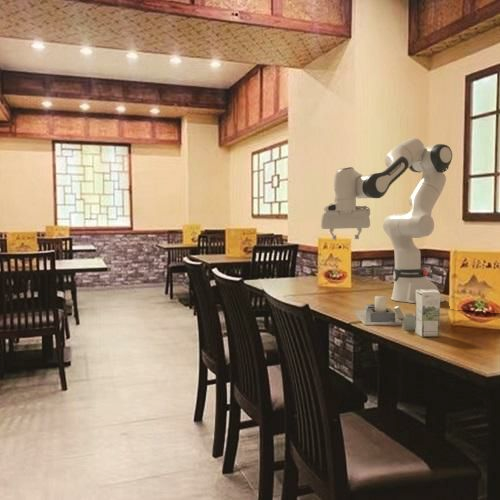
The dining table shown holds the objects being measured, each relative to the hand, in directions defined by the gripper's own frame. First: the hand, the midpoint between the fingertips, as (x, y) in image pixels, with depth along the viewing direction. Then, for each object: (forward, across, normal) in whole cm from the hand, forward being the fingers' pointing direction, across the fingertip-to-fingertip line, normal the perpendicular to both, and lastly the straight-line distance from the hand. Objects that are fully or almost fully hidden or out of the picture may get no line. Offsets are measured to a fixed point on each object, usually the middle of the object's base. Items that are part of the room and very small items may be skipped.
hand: (345, 239), depth 207 cm
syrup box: (+28, -17, +52) cm, 62 cm away
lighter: (+28, -12, +44) cm, 54 cm away
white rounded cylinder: (+27, -7, +32) cm, 42 cm away
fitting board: (+28, -7, +26) cm, 39 cm away
